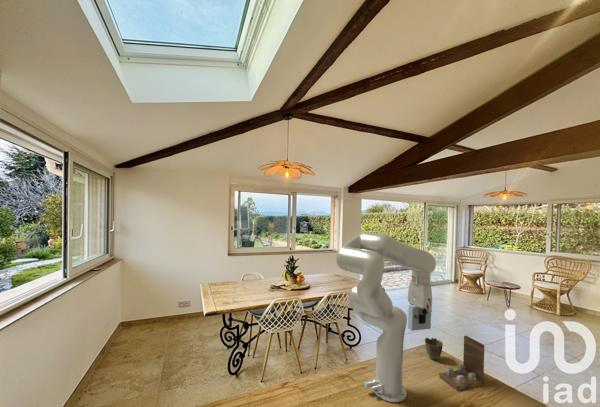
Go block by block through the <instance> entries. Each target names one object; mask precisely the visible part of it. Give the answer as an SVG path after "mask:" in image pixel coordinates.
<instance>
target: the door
mask: <svg viewBox="0 0 600 407" xmlns="http://www.w3.org/2000/svg"><path fill="white" fill-rule="evenodd" d="M431 308H433V306H432V307H431ZM423 310H424V309H423ZM419 314H420V308H419V307H417V306H415V305H411V304H409V305H408V315H407V316H408V317H407V329H408V330H410V331H422V330H429V329H431V328H432V327H431V325H432V324H431V323H432V312H428V313H427V315H426V323H424V324H419Z"/></svg>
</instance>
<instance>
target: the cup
mask: <svg viewBox="0 0 600 407" xmlns="http://www.w3.org/2000/svg"><path fill="white" fill-rule="evenodd" d="M424 344H425V351H426V353H427V354H428V357H429V358H430V359H431V360H433V361H436V360H438V358H439V357H440V356H441V355H442V352H443V347H444V346H443V345H444V343H443V342H442V341H441V340H440V339H437V338H436V337H431V338H429V337H426V338H424Z"/></svg>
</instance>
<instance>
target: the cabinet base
mask: <svg viewBox="0 0 600 407" xmlns="http://www.w3.org/2000/svg"><path fill="white" fill-rule="evenodd" d="M462 361H463V363H462V365H458V366H457V370H454V368H452V367H447V368H446V370H445V371H446V372H444V373H440V374H439V379H441V380H442V381H444V382H445V383H446V384H447V385H448V386H449V387H452V388H453V389H454V390H455V391H462V390H465V389H469V388H473V387H478V386H482V385H484V384H485V378H484V376H485V375H484V373H485V372H484V371H485V344H483V343H482V342H479V341H478V340H476V339H474V338H472V337H470V336H468V335H464V336H463V359H462Z"/></svg>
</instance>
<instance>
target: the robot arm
mask: <svg viewBox="0 0 600 407" xmlns="http://www.w3.org/2000/svg"><path fill="white" fill-rule="evenodd" d="M335 258H336V259H335V262H336V264H337V267H339V268H340V270H343V271H346V272H349V273H354V274H357V275H360V276H361V275H362V277H361V278H362V279H360V280H359V282H358V283H357V284H356V285H354V286H352V288H351V289H350V291H349V293H348V294H349V295H348V301H349V302H348V303H349V306H350V307H351V309H352V310H353V311H354V312H355V313H356V315H357V316H358V317H359V318H360V319H361V321H363V322H364V323H366V324H368V325H370V326H373V327H375V328H377V329H380V330H381V331H382V333H381V334H380V335H379V336H378V337H377V339H376V352H375V354H376V355H375V356H376V357H375V375H373V376H372V379H371V380H368V381H364V382H363V386H364V388H365V389H368V388H369V389H370V390H371V391H372V392H373V394H374V395H375V396H376V397H378V398H379V399H382V400H383V401H387V402H390V403H400V402H403V401H404V400H406V398H407V392H408V391H407V389H406V386H405V385H403V373H404V372H403V371H404V370H403V369H404V368H403V367H404V366H403V365H404V342H405V341H404V340H405V334H406V327H407V325H408V317H407V316H408V315H407V314H406V313H405V312H404V310H403V309H401V308H399V307H397V306H396V305H393V302H392V299H391V298H390V296H389V295H388V293H387V292H386V291H385V289H384V287H383V286H382V285H381V284H382V280H383V277H384V276H383V274H384V269H385V262H384V260H385V261H387V262H389V263H391V264H394V265H398V266H400V267H402V268H403V269H404V270H405V269H406V270H410V271H411V275H410V276H411V280H410V281H409V285H408V291H407V302H408V303H409V305H415V306H417V307H419V308H420V314H419V324H424V323H426V315H427V313H428V312H431V313H432V312H433V310H432V308H433V291H432V285H431V274H432V273H433V272H434V271H435V270H436V266H437V262H436V259H435V256H434V255H433V254H431V253H430V252H429V251H426V250H422V249H420V248H416V247H415V246H411V245H408V244H405V243H403V242H401V241H399V240H397V239H395V238H393V237H391V236H390V235H388V234H383V233H378V232H377V233H376V232H361V233H360V234H357V235H356V236H354V237H353V238H351V239H350V240H349V241H348V242H346V243H345V244H344V245H343V246H341V247H340V248H339V250H338V251H337V253H336V256H335ZM431 307H432V308H431ZM423 309H424V310H423Z"/></svg>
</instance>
